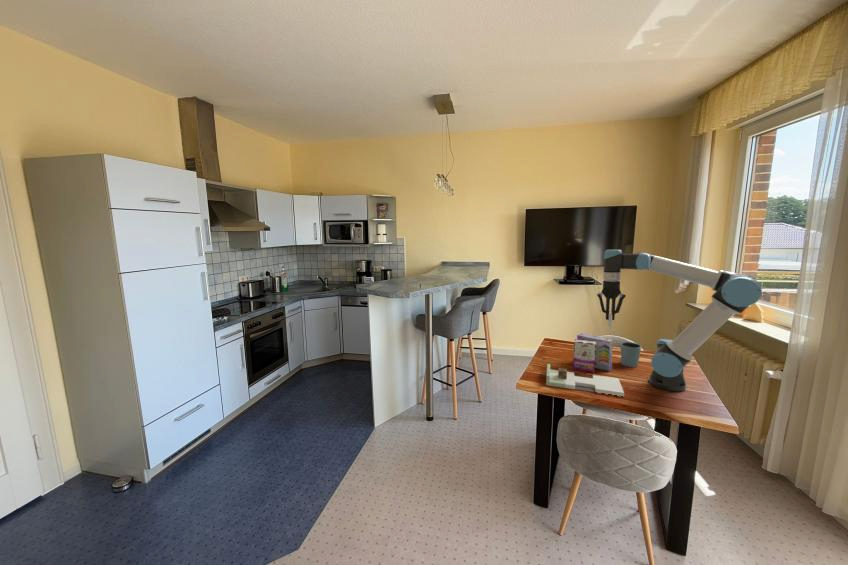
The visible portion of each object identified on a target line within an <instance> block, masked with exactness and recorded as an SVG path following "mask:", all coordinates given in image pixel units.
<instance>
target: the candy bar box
mask: <svg viewBox="0 0 848 565" xmlns="http://www.w3.org/2000/svg"><path fill="white" fill-rule="evenodd" d="M572 358H573V359H572V360H573V363H572V369H573V370H578V371H583V372H591V373H595V369H596V368H595V359H596V342H594V341H586V340H578V339H577V338H576V339H575V338H574V343H573V357H572Z"/></svg>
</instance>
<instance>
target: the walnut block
mask: <svg viewBox="0 0 848 565" xmlns="http://www.w3.org/2000/svg"><path fill="white" fill-rule="evenodd" d="M567 372H568V369H567V368H563V367H558V378H561V379H567Z"/></svg>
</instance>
